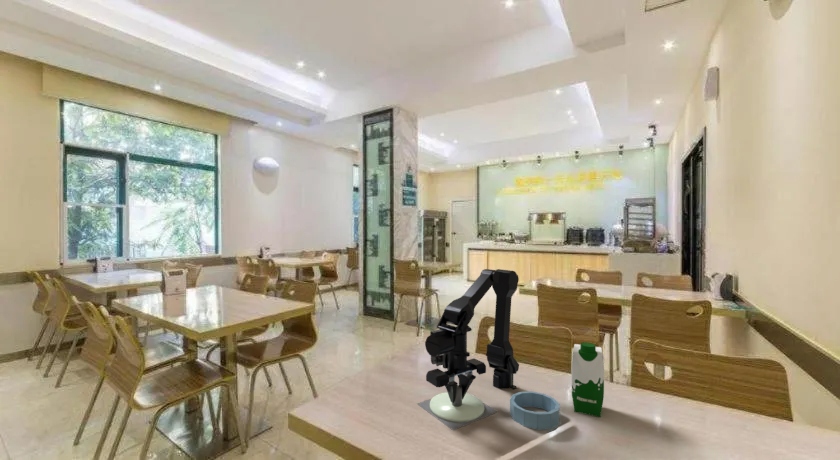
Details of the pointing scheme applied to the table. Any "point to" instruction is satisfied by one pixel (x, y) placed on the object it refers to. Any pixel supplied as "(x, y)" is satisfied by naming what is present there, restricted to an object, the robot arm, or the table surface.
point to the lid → (457, 407)
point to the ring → (535, 418)
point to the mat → (456, 425)
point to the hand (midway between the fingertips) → (456, 400)
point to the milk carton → (587, 379)
